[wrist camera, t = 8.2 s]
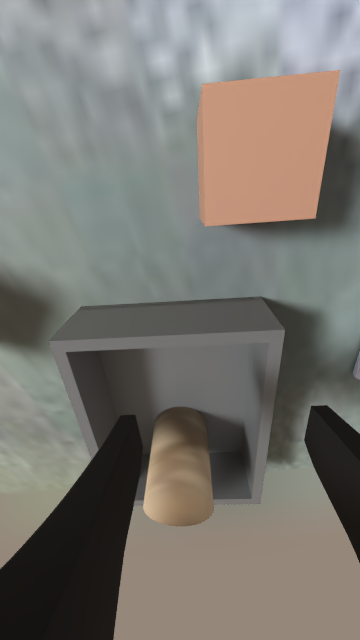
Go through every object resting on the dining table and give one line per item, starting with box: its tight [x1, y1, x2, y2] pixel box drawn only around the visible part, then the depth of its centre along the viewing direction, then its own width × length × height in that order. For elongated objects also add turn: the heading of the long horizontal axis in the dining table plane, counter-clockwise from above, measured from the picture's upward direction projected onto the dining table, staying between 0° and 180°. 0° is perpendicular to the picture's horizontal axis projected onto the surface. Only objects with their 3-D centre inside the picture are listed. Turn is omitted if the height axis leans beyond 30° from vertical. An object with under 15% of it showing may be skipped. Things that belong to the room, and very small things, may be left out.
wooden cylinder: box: [143, 407, 214, 526], centre depth 20 cm, size 5×5×7 cm
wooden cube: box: [197, 70, 340, 226], centre depth 12 cm, size 5×5×5 cm
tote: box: [48, 297, 285, 506], centre depth 20 cm, size 14×18×5 cm
